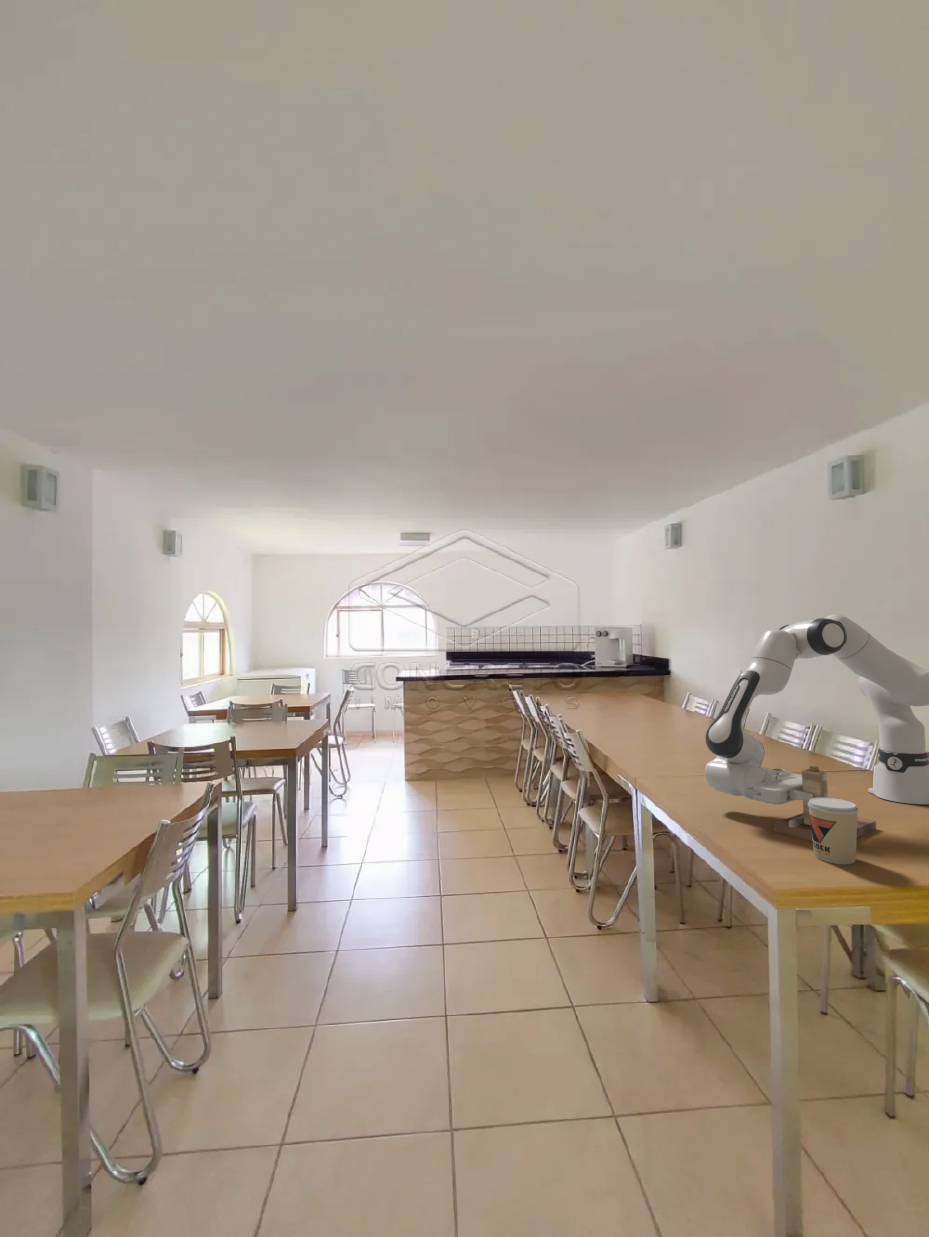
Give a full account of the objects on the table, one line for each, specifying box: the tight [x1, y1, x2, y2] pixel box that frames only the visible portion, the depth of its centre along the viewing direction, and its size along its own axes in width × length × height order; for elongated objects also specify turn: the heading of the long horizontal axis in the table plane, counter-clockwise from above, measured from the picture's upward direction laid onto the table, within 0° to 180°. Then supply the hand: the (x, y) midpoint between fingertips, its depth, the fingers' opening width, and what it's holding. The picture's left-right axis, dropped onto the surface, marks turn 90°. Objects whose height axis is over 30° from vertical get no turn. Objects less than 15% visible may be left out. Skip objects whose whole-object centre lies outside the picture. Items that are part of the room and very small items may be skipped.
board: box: [773, 812, 877, 842], centre depth 146 cm, size 22×14×4 cm, turn 124°
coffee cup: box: [808, 797, 859, 865], centre depth 128 cm, size 9×9×12 cm
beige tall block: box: [801, 765, 829, 825], centre depth 144 cm, size 4×5×14 cm
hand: (819, 795), depth 143 cm, fingers closed on beige tall block, 4 cm apart
